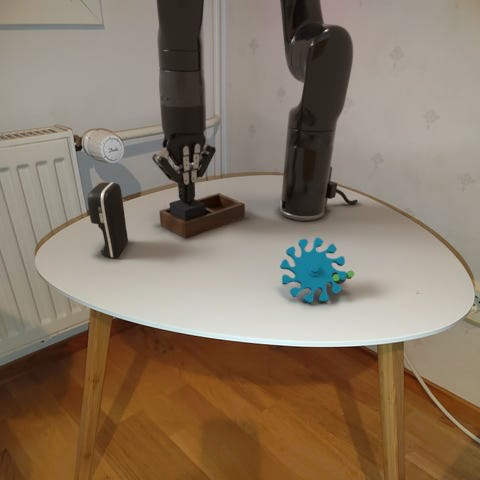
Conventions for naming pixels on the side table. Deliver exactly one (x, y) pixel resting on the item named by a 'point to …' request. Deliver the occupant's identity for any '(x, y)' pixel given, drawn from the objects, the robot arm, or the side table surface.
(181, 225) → the wooden divided tray
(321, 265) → the gear
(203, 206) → the black block
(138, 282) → the side table surface
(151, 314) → the side table surface
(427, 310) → the side table surface
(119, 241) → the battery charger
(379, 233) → the side table surface
